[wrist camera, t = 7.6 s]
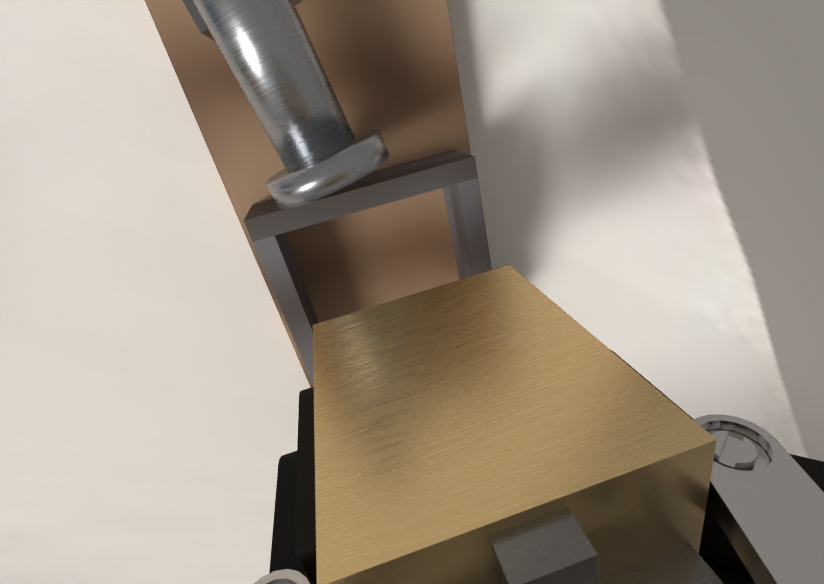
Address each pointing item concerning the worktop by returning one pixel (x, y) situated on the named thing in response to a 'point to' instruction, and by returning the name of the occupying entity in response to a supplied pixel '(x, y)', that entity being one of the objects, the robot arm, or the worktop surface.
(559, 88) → the worktop surface
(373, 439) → the coupling block
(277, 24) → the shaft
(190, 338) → the worktop surface
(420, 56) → the stand
